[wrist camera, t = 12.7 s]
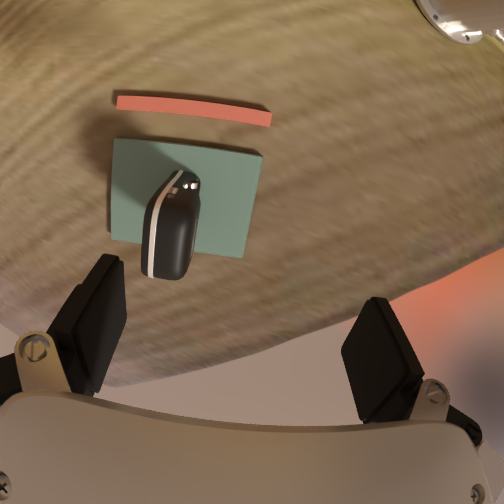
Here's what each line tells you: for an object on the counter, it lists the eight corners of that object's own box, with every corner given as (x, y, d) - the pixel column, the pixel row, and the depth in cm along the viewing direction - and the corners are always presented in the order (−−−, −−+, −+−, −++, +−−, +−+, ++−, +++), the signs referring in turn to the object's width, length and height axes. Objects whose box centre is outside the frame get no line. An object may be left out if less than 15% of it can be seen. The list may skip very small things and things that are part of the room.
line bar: (271, 112, 28) (272, 113, 27) (268, 126, 29) (269, 127, 28) (122, 95, 26) (118, 95, 25) (120, 108, 27) (116, 109, 26)
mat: (262, 155, 31) (262, 157, 30) (242, 254, 36) (242, 258, 35) (117, 137, 29) (113, 138, 28) (114, 235, 34) (111, 239, 33)
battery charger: (199, 232, 33) (184, 293, 23) (166, 226, 33) (138, 284, 23) (210, 172, 30) (196, 211, 20) (174, 166, 30) (143, 202, 20)
